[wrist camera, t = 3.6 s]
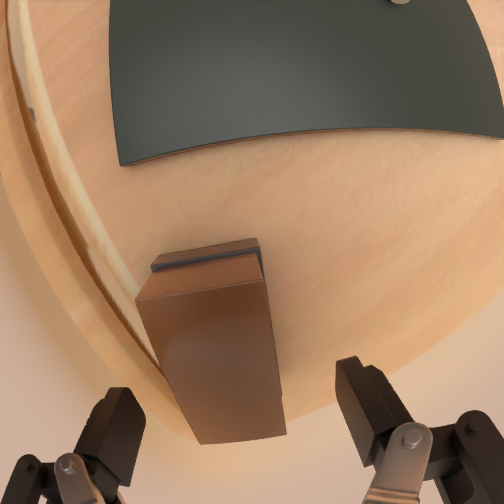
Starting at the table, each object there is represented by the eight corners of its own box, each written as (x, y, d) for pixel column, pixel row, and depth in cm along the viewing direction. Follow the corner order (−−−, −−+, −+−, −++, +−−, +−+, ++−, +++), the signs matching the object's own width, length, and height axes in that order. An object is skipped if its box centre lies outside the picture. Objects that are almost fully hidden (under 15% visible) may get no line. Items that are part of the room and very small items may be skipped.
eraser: (202, 390, 16) (197, 447, 11) (158, 255, 13) (126, 295, 9) (278, 380, 16) (291, 436, 11) (256, 237, 13) (269, 271, 9)
